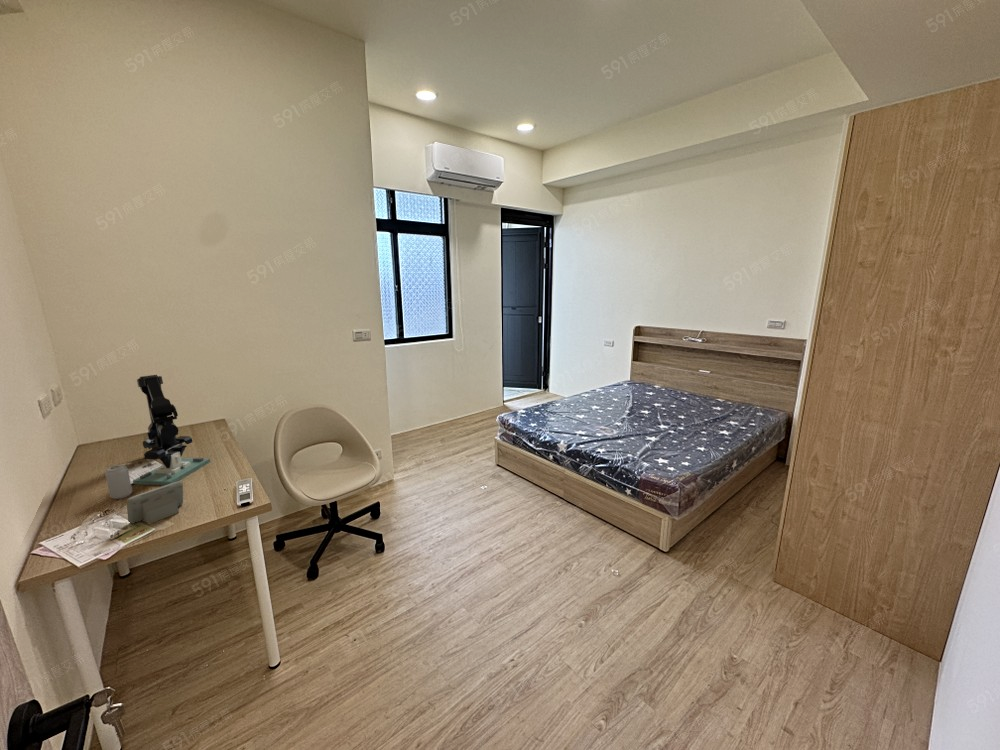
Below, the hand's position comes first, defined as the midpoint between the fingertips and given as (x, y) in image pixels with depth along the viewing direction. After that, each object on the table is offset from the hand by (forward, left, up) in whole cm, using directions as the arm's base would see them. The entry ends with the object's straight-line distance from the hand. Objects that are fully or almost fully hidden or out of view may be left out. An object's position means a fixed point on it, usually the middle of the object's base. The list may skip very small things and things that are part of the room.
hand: (172, 465), depth 176 cm
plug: (0, 0, -2) cm, 2 cm away
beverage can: (+20, -4, -4) cm, 21 cm away
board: (0, 0, -3) cm, 3 cm away
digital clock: (+32, +22, -4) cm, 39 cm away
